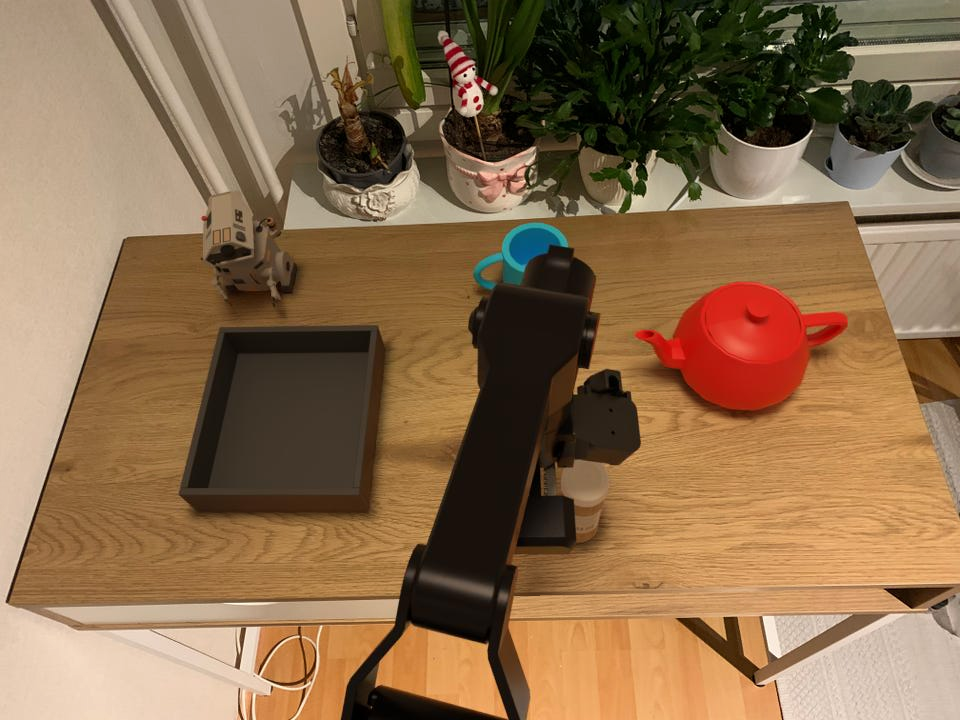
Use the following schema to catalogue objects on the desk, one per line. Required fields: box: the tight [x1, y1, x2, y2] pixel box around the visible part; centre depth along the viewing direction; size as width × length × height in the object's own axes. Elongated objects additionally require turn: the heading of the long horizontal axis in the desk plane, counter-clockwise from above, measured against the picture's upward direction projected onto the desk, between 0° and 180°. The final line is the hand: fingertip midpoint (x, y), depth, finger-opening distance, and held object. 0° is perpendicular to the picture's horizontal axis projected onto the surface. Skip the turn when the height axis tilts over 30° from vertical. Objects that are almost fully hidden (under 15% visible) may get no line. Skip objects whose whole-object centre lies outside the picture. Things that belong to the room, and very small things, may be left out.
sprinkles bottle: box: [560, 460, 611, 543], centre depth 74 cm, size 5×5×13 cm
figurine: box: [200, 190, 298, 307], centre depth 92 cm, size 9×12×15 cm
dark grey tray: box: [178, 324, 386, 513], centre depth 85 cm, size 22×20×6 cm
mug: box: [472, 222, 569, 291], centre depth 93 cm, size 12×8×8 cm
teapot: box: [633, 281, 849, 411], centre depth 83 cm, size 25×16×12 cm, turn 96°
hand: (532, 478), depth 69 cm, fingers open, 9 cm apart
